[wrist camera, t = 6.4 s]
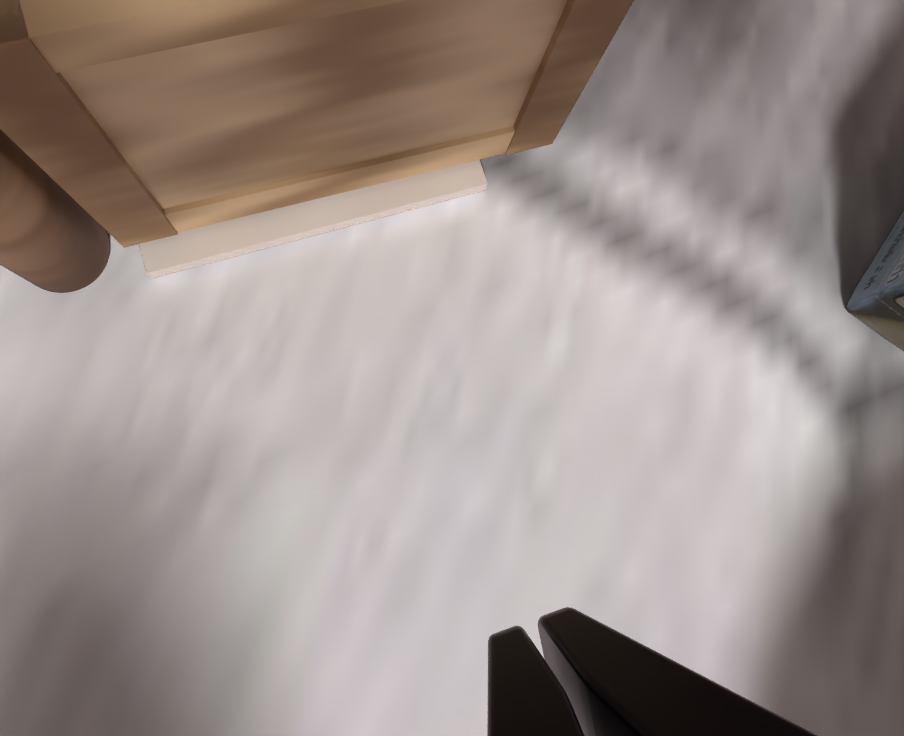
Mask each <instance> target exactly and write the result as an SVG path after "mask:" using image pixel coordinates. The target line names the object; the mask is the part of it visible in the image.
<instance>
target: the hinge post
mask: <svg viewBox="0 0 904 736" xmlns="http://www.w3.org/2000/svg"><path fill="white" fill-rule="evenodd" d="M109 253H110V243H109V238H108V234H107V232H106V230H105V229H104V228H103V227H102V226H101V225H100V224H99V223H98V222H97V221H96V220H95V219H94V218H93V217H92V216H91V215H90V214H89V213H88V212H87V211H86V210H85V209H83V208H82V207H81V206H80V205H79V204H78V203H77V202H76V201H75V200H74V199H73V198H72V197H71V196H70V195H69V194H68V193H67V192H66V191H65V190H64V189H63V188H62V187H60V186H59V185H58V184H57V183H56V182H55V181H54V180H53V179H52V178H51V177H50V176H49V175H48V174H47V173H46V172H45V171H44V170H43V169H42V168H41V167H40V166H39V165H37V164H36V163H35V162H34V161H33V160H32V159H31V158H30V157H29V156H28V155H27V154H26V153H25V152H24V151H23V150H22V149H21V148H20V147H19V146H18V145H17V144H16V143H15V142H13V141H12V140H11V139H10V138H9V137H8V136H7V135H6V134H5V133H4V132H3V131H2V130H1V129H0V265H2V266H3V267H5V268H7V269H8V270H10V271H12V272H14V273H15V274H17V275H19V276H20V277H22V278H24V279H26V280H27V281H29V282H31V283H32V284H34V285H36V286H38V287H40V288H42V289H44V290H47V291H51V292H59V293H64V292H72V291H76V290H79V289H81V288H84V287H86V286H87V285H89V284H91V283H92V282H93V281H95V280H96V279H97V278H98V277H99V275H100V274H101V273H102V272H103V270H104V268H105V267H106V264H107V262H108V258H109Z"/></svg>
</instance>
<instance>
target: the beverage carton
mask: <svg viewBox="0 0 904 736" xmlns="http://www.w3.org/2000/svg"><path fill="white" fill-rule="evenodd" d="M846 309H847V311H848V312H849V313H851V314H852V315H854V316H855V317H856V318H858V319H859V320H861V321H862V322H863V323H865V324H866V325H867V326H869V327H870V328H871V329H873V330H874V331H876V332H877V333H878V334H880V335H881V336H883V337H884V338H885V339H887V340H888V341H889V342H891V343H893V344H894V345H896V346H897V347H898V348H900V349H901V350H903V351H904V211H903V212H902V214H901V216H900V218H899V219H898V221H897V222H896V224H895V226H894V227H893V229H892V231H891V233H890V234H889V236H888V237H887V239H886V240H885V242H884V243H883V245H882V246H881V248H880V250H879V251H878V253H877V255H876V256H875V258H874V260H873V262H872V263H871V265H870V267H869V268H868V269H867V271H866V272H865V273H864V275H863V277H862V278H861V280H860V282H859V283H858V285H857V287H856V289H855V291H854V293H853V294H852V296H851V298H850V300H849V302H848V304H847V307H846Z"/></svg>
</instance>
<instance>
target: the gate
mask: <svg viewBox="0 0 904 736" xmlns="http://www.w3.org/2000/svg"><path fill="white" fill-rule="evenodd" d="M633 1H634V0H0V129H1V130H2V131H3V132H4V133H5V134H6V135H7V136H8V137H9V138H10V139H11V140H12V141H13V142H15V143H16V144H17V145H18V146H19V147H20V148H21V149H22V150H23V151H24V152H25V153H26V154H27V155H28V156H29V157H30V158H31V159H32V160H33V161H34V162H35V163H36V164H37V165H39V166H40V167H41V168H42V169H43V170H44V171H45V172H46V173H47V174H48V175H49V176H50V177H51V178H52V179H53V180H54V181H55V182H56V183H57V184H58V185H59V186H60V187H62V188H63V189H64V190H65V191H66V192H67V193H68V194H69V195H70V196H71V197H72V198H73V199H74V200H75V201H76V202H77V203H78V204H79V205H80V206H81V207H82V208H83V209H85V210H86V211H87V212H88V213H89V214H90V215H91V216H92V217H93V218H94V219H95V220H96V221H97V222H98V223H99V224H100V225H101V226H102V227H103V228H104V229H105V230H106V231H108V232H109V233H110V234H111V235H112V236H113V237H114V238H115V239H116V240H117V241H118V242H119V243H120V244H121V245H122V246H123V247H128V246H132V245H137V244H141V243H145V242H149V241H153V240H157V239H161V238H165V237H170V236H174V235H178V232H182V231H187V230H191V229H195V228H199V227H203V226H207V225H211V224H215V223H220V222H224V221H228V220H232V219H236V218H240V217H244V216H248V215H253V214H257V213H261V212H265V211H269V210H273V209H277V208H281V207H286V206H290V205H294V204H298V203H302V202H306V201H310V200H314V199H319V198H323V197H327V196H331V195H335V194H339V193H343V192H347V191H352V190H356V189H360V188H364V187H368V186H372V185H376V184H380V183H385V182H389V181H393V180H397V179H401V178H405V177H409V176H413V175H418V174H422V173H426V172H430V171H434V170H438V169H442V168H446V167H451V166H455V165H459V164H463V163H467V162H471V161H475V160H480V159H484V158H488V157H492V156H496V155H500V154H504V153H505V154H506V155H507V154H512V153H516V152H520V151H524V150H528V149H532V148H536V147H540V146H545V145H549V144H552V143H553V141H554V140H555V138H556V136H557V134H558V133H559V131H560V129H561V127H562V126H563V124H564V122H565V120H566V119H567V117H568V115H569V113H570V112H571V110H572V108H573V106H574V105H575V103H576V101H577V99H578V98H579V96H580V94H581V92H582V91H583V89H584V87H585V85H586V84H587V82H588V80H589V78H590V77H591V75H592V73H593V71H594V70H595V68H596V66H597V64H598V63H599V61H600V59H601V57H602V56H603V54H604V52H605V50H606V49H607V47H608V45H609V43H610V41H611V40H612V38H613V36H614V34H615V33H616V31H617V29H618V27H619V26H620V24H621V22H622V20H623V19H624V17H625V15H626V13H627V12H628V10H629V8H630V6H631V5H632V3H633Z"/></svg>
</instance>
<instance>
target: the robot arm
mask: <svg viewBox="0 0 904 736" xmlns="http://www.w3.org/2000/svg"><path fill="white" fill-rule="evenodd" d="M538 629H539V634H540V639H541V644H542V649H543V654H544V658H545V660H544V658H543V657H542V655H541V654H540V652H539V651H538V649H537V648H536V646H535V645H534V643H533V642H532V640H531V639H530V637H529V636H528V635H527V633H526V632H525V630H524V629H523V628H522V627H520V626H514V627H511V628H508V629H506V630H503V631H500V632H498V633H495V634H493V635H491V636H490V637H489V640H488V736H817V735H815V734H813V733H811V732H809V731H807V730H805V729H804V728H802V727H800V726H798V725H796V724H794V723H792V722H790V721H788V720H786V719H784V718H782V717H781V716H779V715H777V714H775V713H773V712H771V711H769V710H767V709H765V708H763V707H761V706H759V705H758V704H756V703H754V702H752V701H750V700H748V699H746V698H744V697H742V696H740V695H738V694H736V693H734V692H733V691H731V690H729V689H727V688H725V687H723V686H721V685H719V684H717V683H715V682H713V681H711V680H710V679H708V678H706V677H704V676H702V675H700V674H698V673H696V672H694V671H692V670H690V669H688V668H687V667H685V666H683V665H681V664H679V663H677V662H675V661H673V660H671V659H669V658H667V657H665V656H664V655H662V654H660V653H658V652H656V651H654V650H652V649H650V648H648V647H646V646H644V645H642V644H641V643H639V642H637V641H635V640H633V639H631V638H629V637H627V636H625V635H623V634H621V633H619V632H618V631H616V630H614V629H612V628H610V627H608V626H606V625H604V624H602V623H600V622H598V621H596V620H594V619H593V618H591V617H589V616H587V615H585V614H583V613H581V612H579V611H577V610H575V609H573V608H569V607H567V608H563V609H560V610H557V611H554V612H552V613H549V614H546V615H544V616H542V617H540V619H539V621H538Z"/></svg>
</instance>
